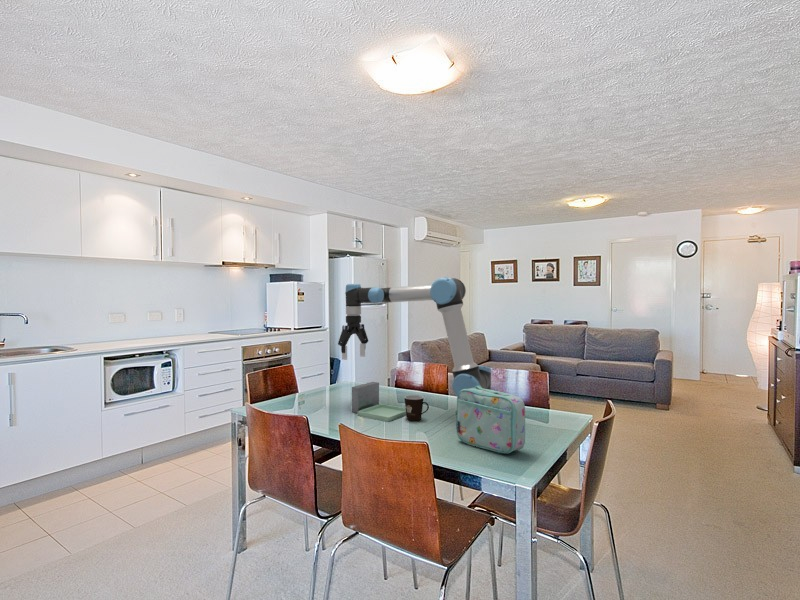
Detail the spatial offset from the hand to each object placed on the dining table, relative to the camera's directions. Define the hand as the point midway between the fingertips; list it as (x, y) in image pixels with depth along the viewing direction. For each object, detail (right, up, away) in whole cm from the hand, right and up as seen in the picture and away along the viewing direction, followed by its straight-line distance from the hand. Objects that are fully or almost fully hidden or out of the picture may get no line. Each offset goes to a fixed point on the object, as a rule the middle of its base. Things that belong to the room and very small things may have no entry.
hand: (353, 358), depth 219 cm
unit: (+6, -24, -4) cm, 26 cm away
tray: (+16, -25, -13) cm, 32 cm away
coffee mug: (+30, -25, -23) cm, 45 cm away
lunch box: (+55, -25, -56) cm, 83 cm away
